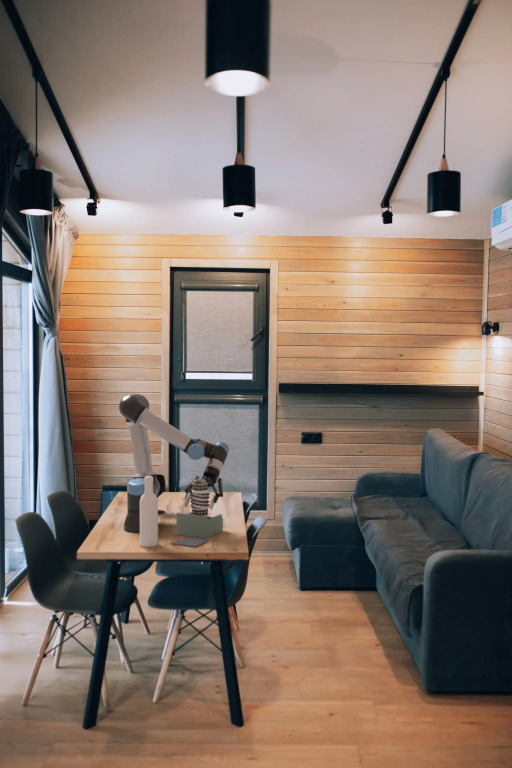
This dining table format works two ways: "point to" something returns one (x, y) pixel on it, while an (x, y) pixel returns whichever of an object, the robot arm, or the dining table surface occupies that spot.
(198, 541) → the mat
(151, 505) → the bottle
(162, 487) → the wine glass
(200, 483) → the decorative candle
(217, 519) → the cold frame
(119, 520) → the dining table surface
